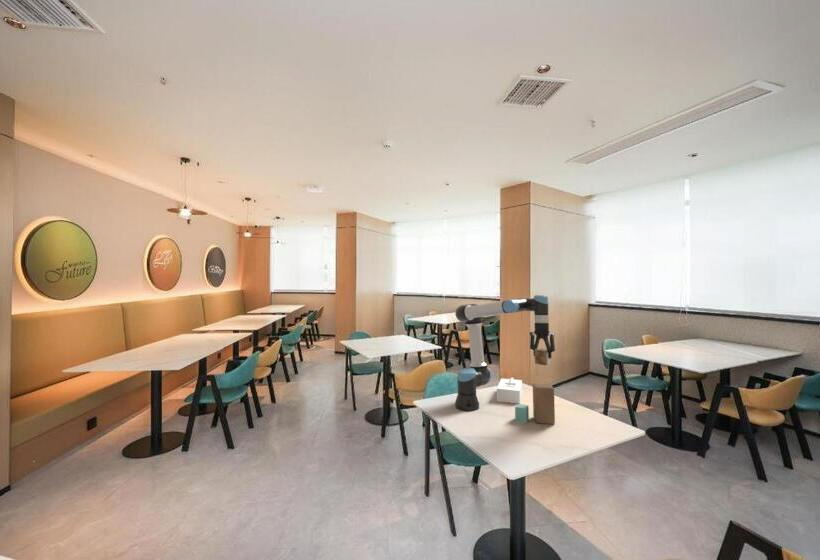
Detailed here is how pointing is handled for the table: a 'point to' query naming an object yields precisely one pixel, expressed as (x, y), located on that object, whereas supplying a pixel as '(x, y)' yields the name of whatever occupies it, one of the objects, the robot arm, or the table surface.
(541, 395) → the block
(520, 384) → the tissue box
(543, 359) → the walnut block
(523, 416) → the teal block
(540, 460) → the table surface
